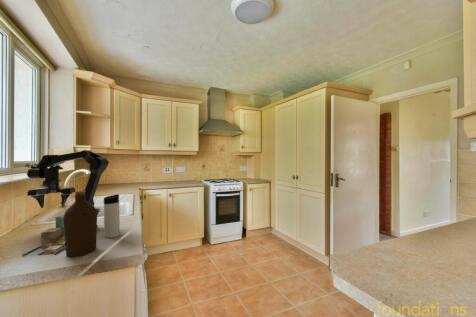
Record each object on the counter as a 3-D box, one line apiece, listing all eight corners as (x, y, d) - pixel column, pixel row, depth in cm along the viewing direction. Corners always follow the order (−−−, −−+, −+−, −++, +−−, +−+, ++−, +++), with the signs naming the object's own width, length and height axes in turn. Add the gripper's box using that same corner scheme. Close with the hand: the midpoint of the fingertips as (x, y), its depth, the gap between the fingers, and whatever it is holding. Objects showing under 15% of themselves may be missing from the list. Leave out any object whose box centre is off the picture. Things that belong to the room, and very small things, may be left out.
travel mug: (123, 235, 98) (122, 194, 98) (109, 240, 92) (108, 197, 92) (115, 233, 101) (114, 193, 101) (101, 238, 95) (100, 196, 95)
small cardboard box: (62, 248, 83) (62, 245, 83) (56, 252, 79) (56, 249, 79) (51, 249, 82) (51, 245, 82) (44, 253, 79) (44, 249, 79)
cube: (61, 238, 90) (61, 227, 90) (54, 242, 85) (54, 231, 85) (49, 239, 89) (49, 228, 89) (41, 243, 84) (40, 232, 84)
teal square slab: (69, 237, 95) (69, 215, 94) (51, 247, 84) (51, 222, 84) (60, 237, 94) (60, 215, 94) (41, 247, 84) (40, 222, 84)
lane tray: (88, 237, 97) (88, 233, 97) (55, 256, 78) (55, 252, 78) (61, 238, 96) (61, 234, 96) (22, 258, 77) (22, 253, 77)
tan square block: (73, 242, 88) (73, 239, 88) (66, 246, 84) (66, 243, 84) (63, 243, 88) (63, 239, 88) (55, 247, 84) (55, 243, 84)
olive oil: (104, 248, 84) (103, 189, 84) (80, 262, 74) (79, 194, 74) (82, 247, 86) (81, 189, 86) (56, 259, 76) (54, 193, 75)
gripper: (18, 180, 98) (19, 212, 98) (63, 179, 102) (64, 209, 103) (34, 178, 109) (35, 207, 109) (75, 177, 113) (76, 204, 113)
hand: (52, 207), depth 108 cm, fingers open, 9 cm apart
